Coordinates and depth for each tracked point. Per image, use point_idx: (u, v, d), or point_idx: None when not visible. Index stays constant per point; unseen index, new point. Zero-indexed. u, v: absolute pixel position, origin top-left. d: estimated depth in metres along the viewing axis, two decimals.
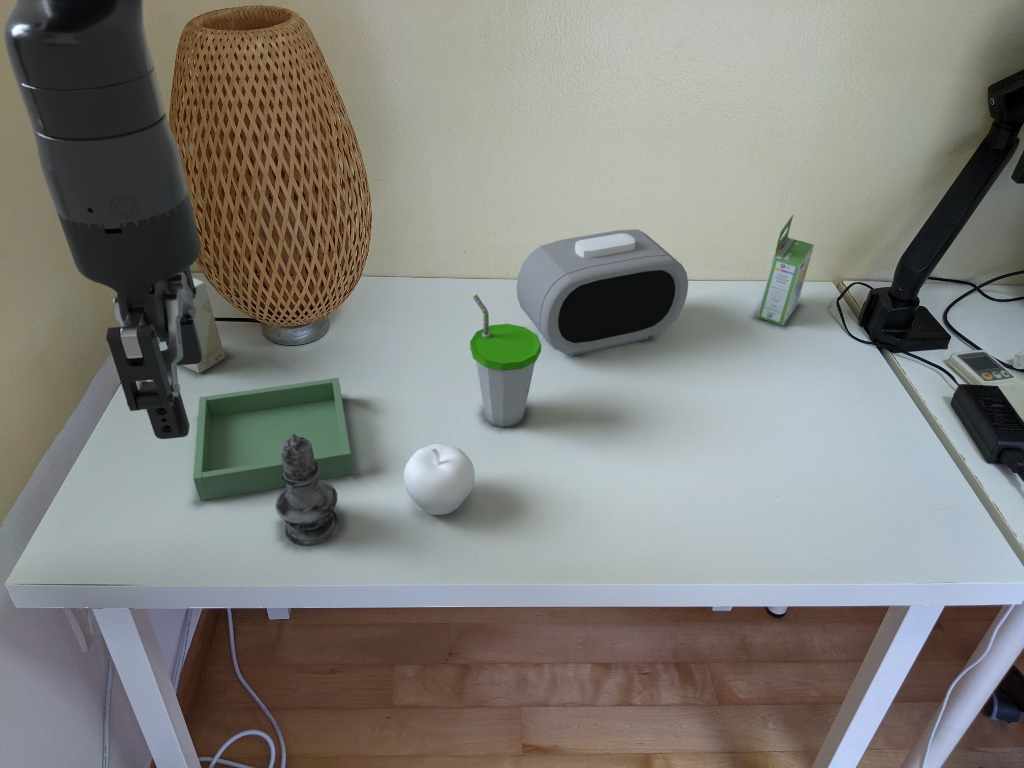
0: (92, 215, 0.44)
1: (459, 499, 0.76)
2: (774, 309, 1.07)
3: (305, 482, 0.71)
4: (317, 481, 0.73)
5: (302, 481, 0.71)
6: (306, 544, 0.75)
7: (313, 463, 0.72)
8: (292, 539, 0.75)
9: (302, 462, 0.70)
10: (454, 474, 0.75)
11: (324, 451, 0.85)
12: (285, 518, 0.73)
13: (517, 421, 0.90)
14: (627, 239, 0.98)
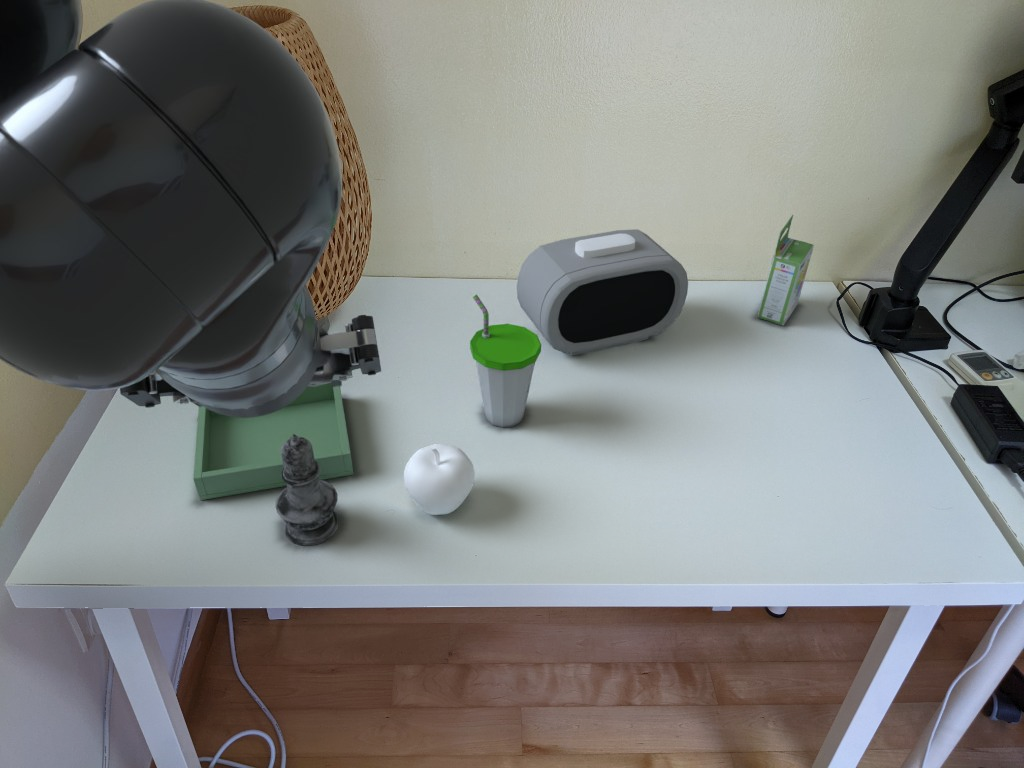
0: None
1: (459, 499, 0.76)
2: (774, 309, 1.07)
3: (305, 482, 0.71)
4: (317, 481, 0.73)
5: (303, 482, 0.71)
6: (306, 544, 0.75)
7: (313, 463, 0.72)
8: (292, 539, 0.75)
9: (302, 462, 0.70)
10: (454, 474, 0.75)
11: (324, 451, 0.85)
12: (285, 518, 0.73)
13: (517, 421, 0.90)
14: (627, 239, 0.98)
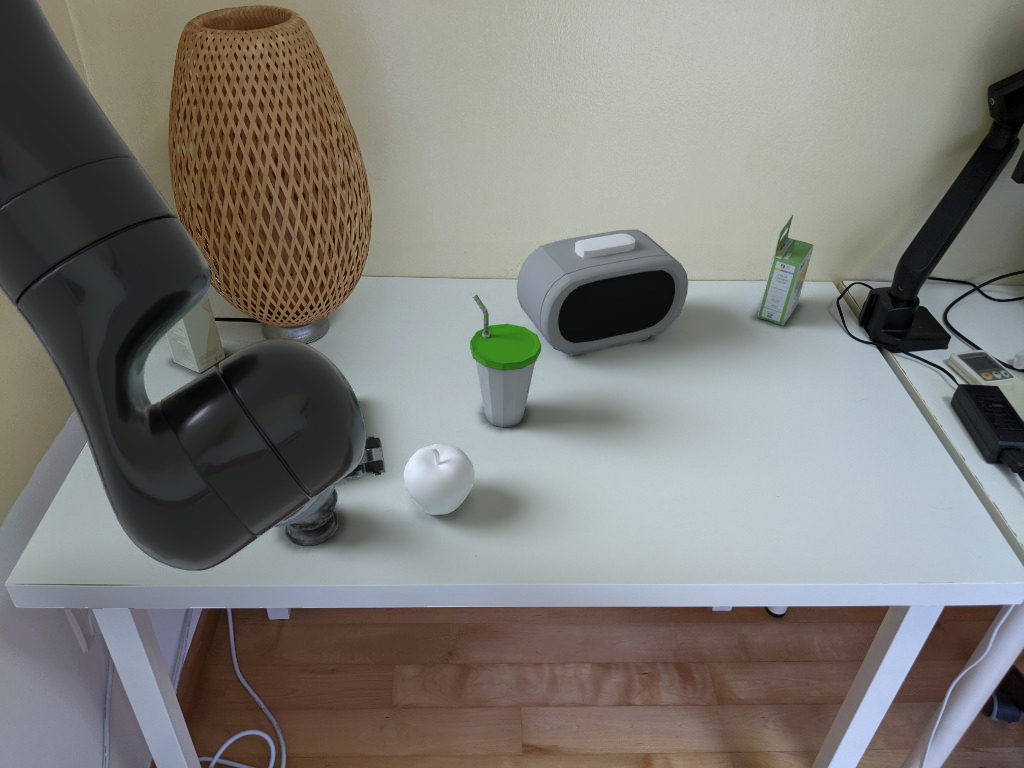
0: None
1: (459, 499, 0.76)
2: (774, 309, 1.07)
3: None
4: None
5: None
6: (306, 544, 0.75)
7: None
8: (292, 539, 0.75)
9: None
10: (454, 474, 0.75)
11: None
12: None
13: (517, 421, 0.90)
14: (627, 239, 0.98)
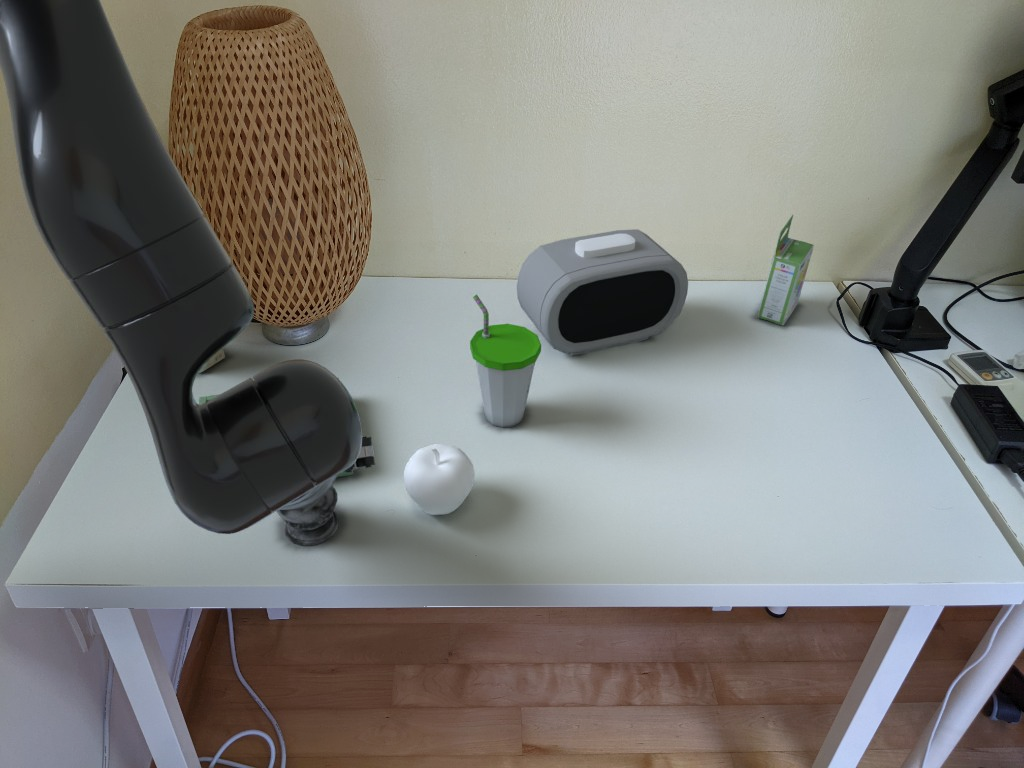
0: None
1: (459, 499, 0.76)
2: (774, 309, 1.07)
3: None
4: None
5: None
6: (306, 544, 0.75)
7: None
8: (292, 539, 0.75)
9: None
10: (454, 474, 0.75)
11: None
12: (285, 518, 0.73)
13: (517, 421, 0.90)
14: (627, 239, 0.98)
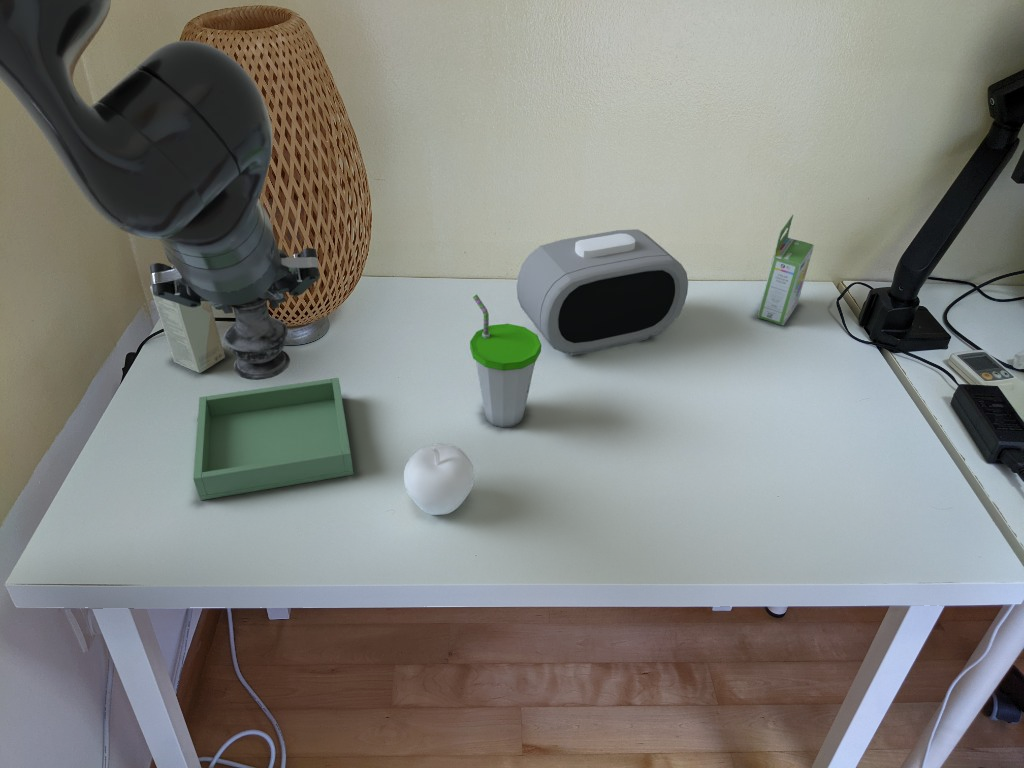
0: None
1: (459, 499, 0.76)
2: (774, 309, 1.07)
3: (252, 306, 0.70)
4: (265, 309, 0.72)
5: (249, 305, 0.70)
6: (255, 378, 0.73)
7: None
8: (241, 373, 0.74)
9: None
10: (454, 474, 0.75)
11: (324, 451, 0.85)
12: (232, 347, 0.71)
13: (517, 421, 0.90)
14: (627, 239, 0.98)
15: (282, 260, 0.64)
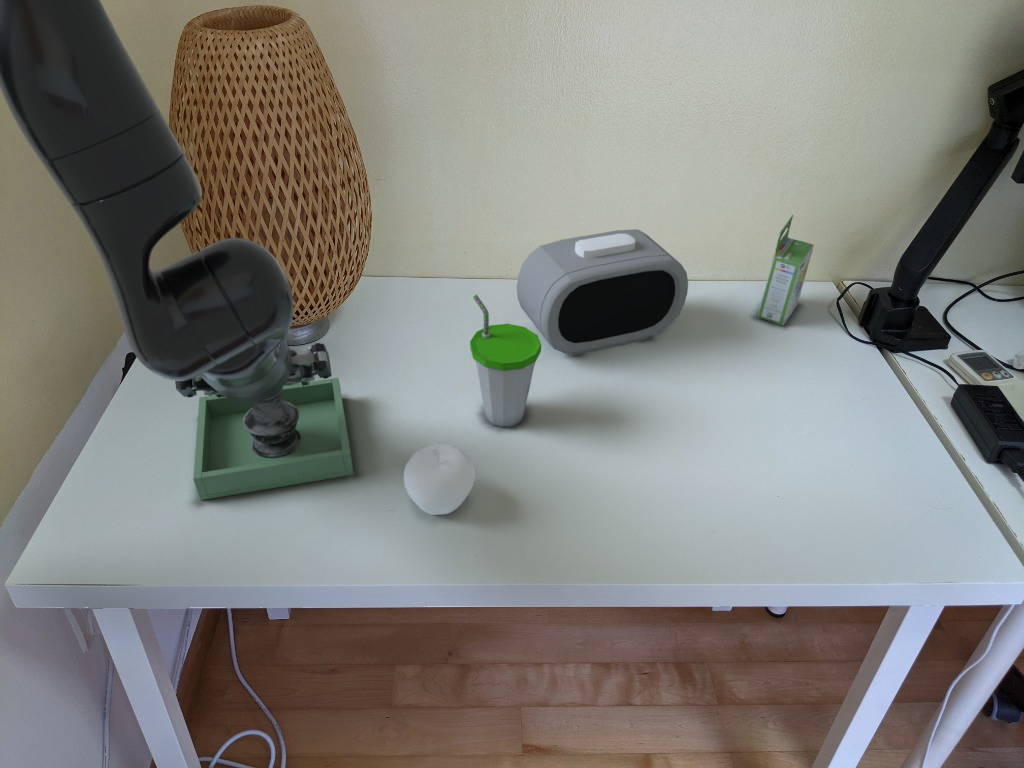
0: None
1: (459, 499, 0.76)
2: (774, 309, 1.07)
3: None
4: (280, 398, 0.82)
5: None
6: (271, 457, 0.84)
7: None
8: (258, 452, 0.84)
9: None
10: (454, 474, 0.75)
11: (324, 451, 0.85)
12: (251, 431, 0.82)
13: (517, 421, 0.90)
14: (627, 239, 0.98)
15: None
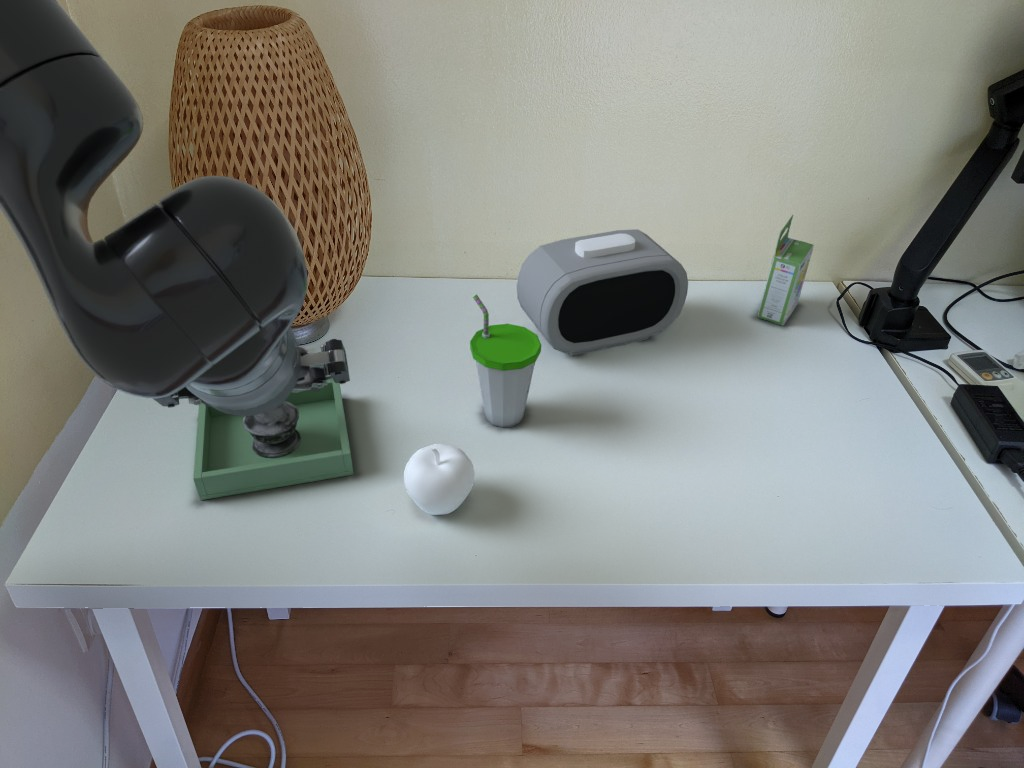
0: None
1: (459, 499, 0.76)
2: (774, 309, 1.07)
3: None
4: None
5: None
6: (271, 457, 0.84)
7: None
8: (258, 452, 0.84)
9: None
10: (454, 474, 0.75)
11: (324, 451, 0.85)
12: (251, 431, 0.82)
13: (517, 421, 0.90)
14: (627, 239, 0.98)
15: None
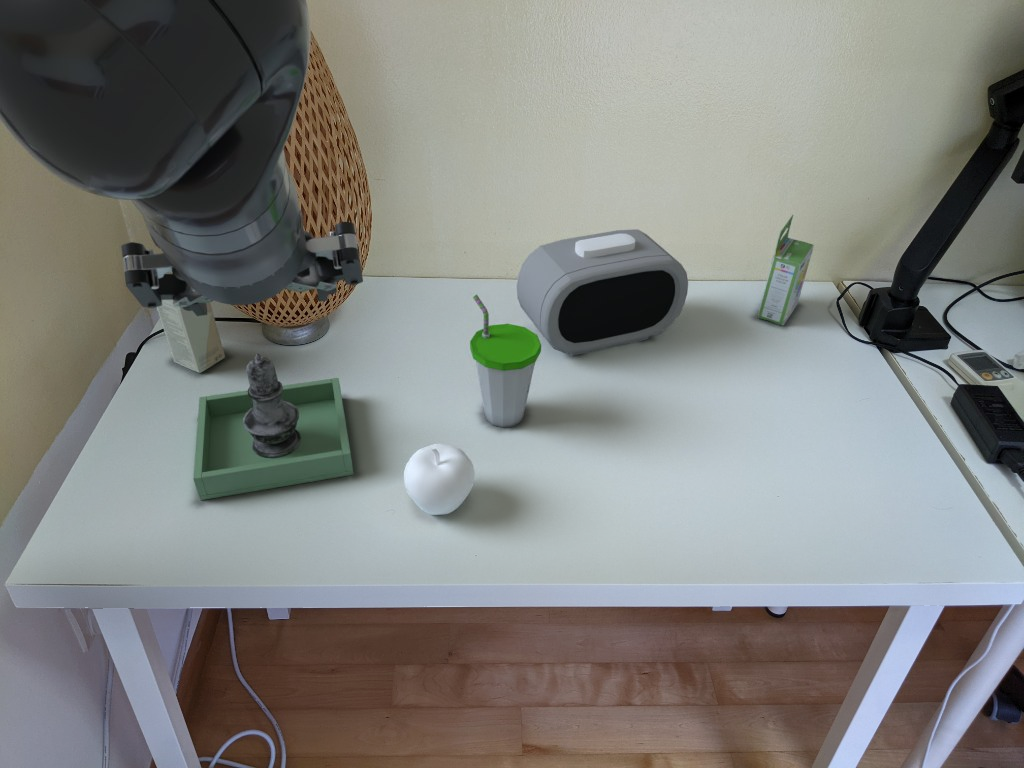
0: None
1: (459, 499, 0.76)
2: (774, 309, 1.07)
3: (268, 397, 0.80)
4: (280, 398, 0.82)
5: (266, 397, 0.80)
6: (271, 457, 0.84)
7: (276, 381, 0.80)
8: (258, 452, 0.84)
9: (265, 378, 0.79)
10: (454, 474, 0.75)
11: (324, 451, 0.85)
12: (251, 431, 0.82)
13: (517, 421, 0.90)
14: (627, 239, 0.98)
15: None
